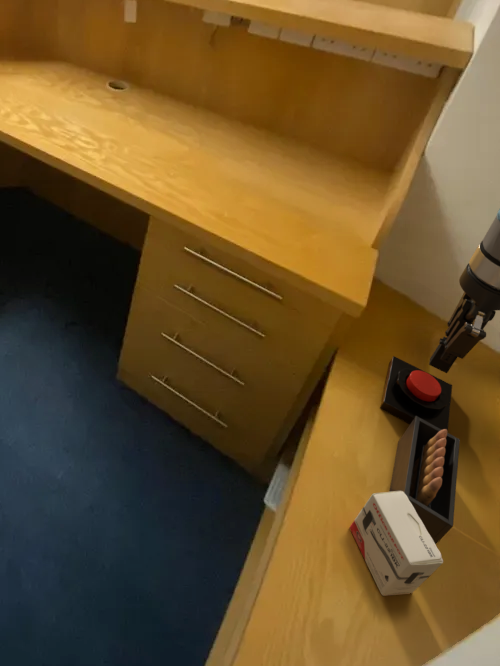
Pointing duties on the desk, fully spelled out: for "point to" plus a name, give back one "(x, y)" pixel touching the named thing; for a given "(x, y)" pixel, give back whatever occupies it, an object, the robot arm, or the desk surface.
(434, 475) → the ammunition clip
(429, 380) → the button
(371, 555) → the ink box
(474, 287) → the robot arm
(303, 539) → the desk surface
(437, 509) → the box
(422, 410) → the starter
